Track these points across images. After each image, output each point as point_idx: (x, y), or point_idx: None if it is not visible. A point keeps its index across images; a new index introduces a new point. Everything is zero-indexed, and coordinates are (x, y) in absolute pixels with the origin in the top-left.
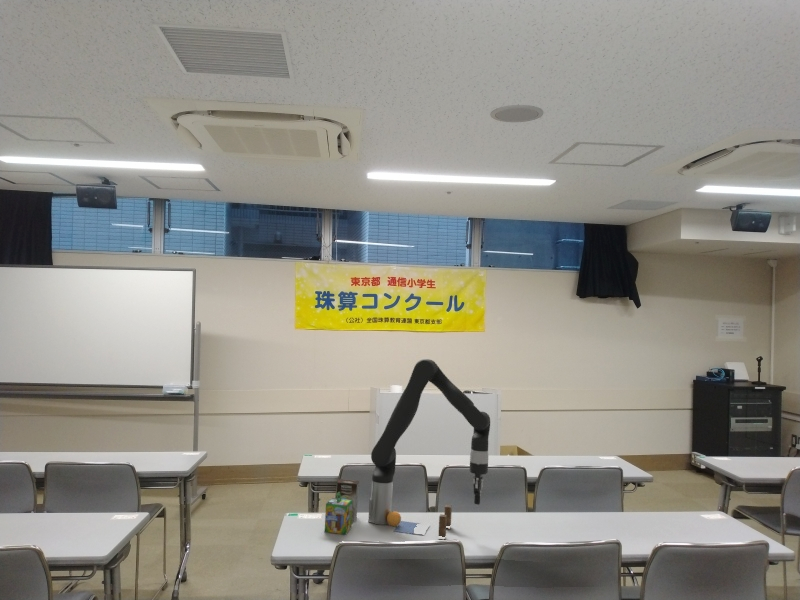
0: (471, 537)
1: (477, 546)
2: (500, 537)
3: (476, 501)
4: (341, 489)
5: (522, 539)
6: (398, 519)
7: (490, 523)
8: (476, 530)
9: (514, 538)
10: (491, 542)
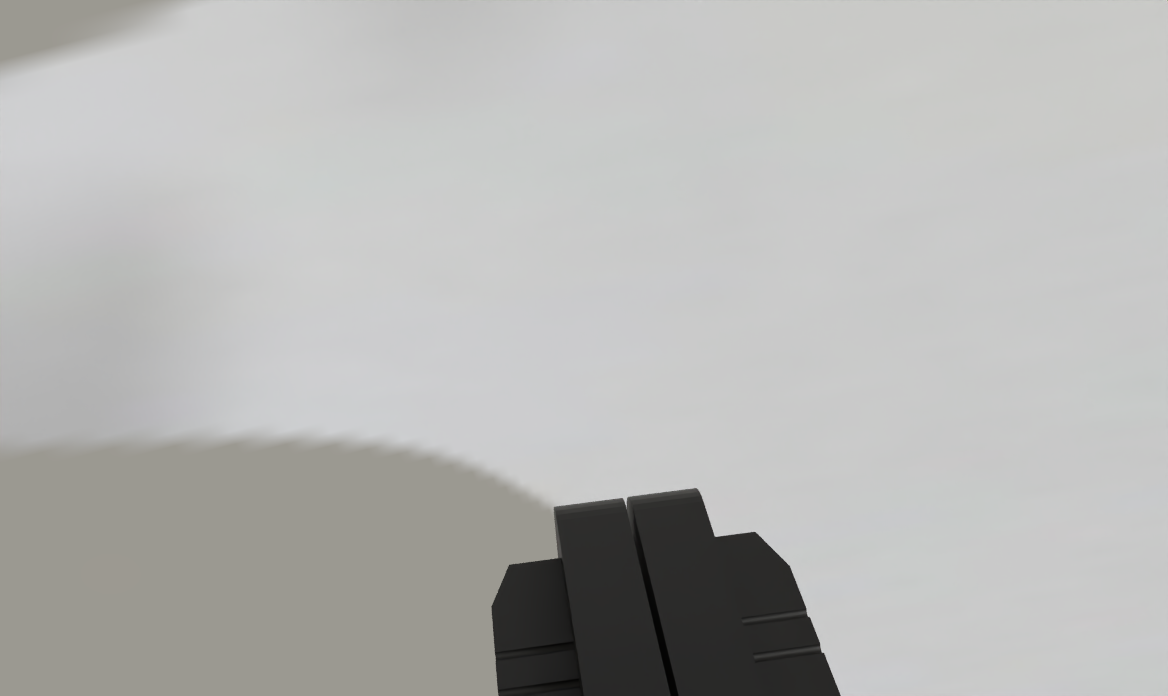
0: (492, 14)
1: (96, 214)
2: (719, 433)
3: (518, 653)
4: None
5: None
6: None
7: None
8: (924, 24)
9: None
10: (433, 368)
